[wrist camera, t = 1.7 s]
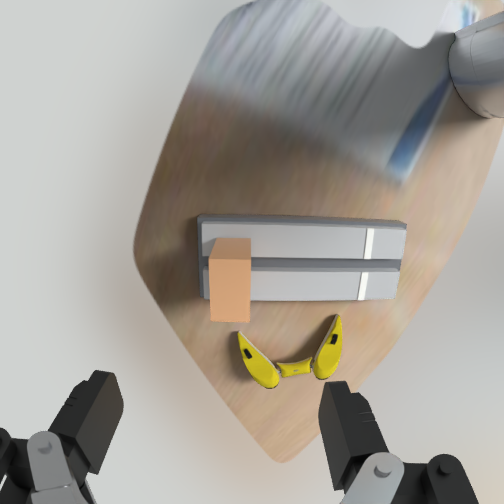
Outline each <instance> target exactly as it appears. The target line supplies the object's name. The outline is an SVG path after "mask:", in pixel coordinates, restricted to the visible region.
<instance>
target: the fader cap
mask: <svg viewBox="0 0 504 504" xmlns="http://www.w3.org/2000/svg"><path fill="white" fill-rule="evenodd" d="M209 287H210V313H211V321H217V322H250V291H251V238H217V239H216V241H215V244H214V246H213V249H212V252H211V254H210V257H209Z"/></svg>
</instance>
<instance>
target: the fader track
mask: <svg viewBox="0 0 504 504" xmlns="http://www.w3.org/2000/svg"><path fill="white" fill-rule="evenodd" d="M197 225H198V259H199V283H200V297H204V299H210V287H209V257H210V254H211V252H212V249H213V246H214V244H215V241H216V239H217V238H251V291H250V300H262V301H320V300H369V299H395V296H396V291H397V286H398V281H399V275H400V266H401V260H402V258H403V252H404V245H405V239H406V231H407V230H406V226H407V224H405V223H403V222H401V221H397V220H380V219H362V218H341V217H316V216H285V215H237V214H200V215H199V216H198V217H197Z"/></svg>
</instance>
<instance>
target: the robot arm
mask: <svg viewBox="0 0 504 504" xmlns="http://www.w3.org/2000/svg"><path fill="white" fill-rule="evenodd" d="M455 37H456V40H455V42H454V43H453V44H452V46H451V48H450V51H449V59H448V61H449V69H450V73H451V77H452V80H453V83H454V85H455V87H456V89H457V91H458V93H459V95H460V96H461V98H462V99H463V101H464V102H465V103H466V104H467V105H468V107H469V108H470V109H471V110H473V111H474V112H475V113H476V114H478V115H480V116H482V117H487V118H504V11H502V12H499V13H497V14H494V15H492V16H490V17H487V18H485V19H483V20H480V21H478V22H476V23H474V24H472V25H469V26H467V27H465V28H463V29H461V30H459V31H457V32H455ZM123 406H124V405H123V399H122V396H121V392H120V389H119V386H118V383H117V379H116V376H115V374H114V373H111V372H105V371H99V370H95V371H94V372H93V374H92V375H91V377H90V378H89V380H88V381H85V380H84V381H82V382H81V383H79V384H78V385H77V386H75V387H74V389H73V390H72V392H71V394H70V395H69V398H67V400H66V402H65V405H63V406H62V408H61V410H60V411H59V413H58V414H57V416H56V418H55V419H54V421H53V423H52V424H51V426H50V428H49V429H48V431H41V432H38V433H36V434H34V435H33V436H31V438H30V439H28V440H27V439H16V438H11V437H10V435H9V433H8V432H7V431H6V430H5V429H3V428H0V484H1V481H2V479H3V477H4V475H6V476H7V478H6V480H5V482H4V484H3V486H2V489H1V491H0V504H97V503H96V501H95V499H94V497H93V494H92V492H91V489H90V487H89V485H88V482H87V480H86V475H87V473H88V472H90V473H93V474H98V473H99V471H100V468H101V465H102V463H103V460H104V458H105V455H106V453H107V450H108V448H109V445H110V443H111V440H112V438H113V435H114V433H115V430H116V428H117V426H118V423H119V421H120V418H121V416H122V413H123ZM318 418H319V426H320V430H321V434H322V438H323V443H324V447H325V452H326V456H327V460H328V464H329V469H330V474H331V478H332V483H333V487H334V491H336V490H342V489H343V490H344V494H345V496H344V498H343V499H342V501H341V502H340V504H479V503H478V500H477V498H476V495H475V493H474V491H473V488H472V486H471V484H470V482H469V479H468V477H467V475H466V473H465V470H464V469H463V466H462V464H461V462H460V461H459V460H458V459H457V458H456V457H454V456H452V455H448V454H440V455H437V456H435V457H433V459H431V460H430V462H429V463H428V464H424V463H420V464H419V463H404V462H402V461H401V460H400V459H399V458H398V457H397V456H395V455H393V454H391V453H389V451H388V448H387V446H386V444H385V441H384V439H383V436H382V434H381V431H380V429H379V427H378V424H377V422H376V421H375V417H374V415H373V413H372V410H371V408H370V405H369V403H368V401H367V400H366V399H365V398H364V397H363V396H362V395H361V394H360V393H359V392H358V393H351V392H350V390H349V387H348V384H347V382H346V381H334V382H326V383H325V385H324V389H323V393H322V398H321V402H320V407H319V414H318Z"/></svg>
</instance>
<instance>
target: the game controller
mask: <svg viewBox="0 0 504 504" xmlns="http://www.w3.org/2000/svg"><path fill="white" fill-rule="evenodd" d="M238 342H239V346H240V350H241V354H242V357H243V360H244V362H245V365H246V367H247V369H248V371H249V372H250V374H251V376H252V377H253V379H254V380H255V381H256V382H257V383H258V384H260V385H261V386H263V387H265V388H267V389H272V388H275V387H276V386H277V385H278V383H279V373H281V376H282V377H288V376H293V375H298V374H306V373H310V372H311V369H310V368H312V369H313V372H314V374H315V376H316V378H318V379H320V380H324V379H327V378H329V377H330V375H331V374H333V372H334V371H335V369H336V367H337V365H338V363H339V360H340V355H341V350H342V325H341V319H340V316H339V315H338V314H336V316H335V318H334V320H333V322H332V324H331V326H330V328H329V330H328V332H327V334H326V336H325V338H324V340H323V341H322V343H321V345H320V347H319V349H318V351H317V353H316V355H315V358H314V360H313V364H312V365H310V361H311V359H312V357H309V358H307V359H305V360H302V361H299V362H294V363H278V362H277V365H278V366H279V367H280V369H281V370H277V369H276V367H275V366H274V364H273V363H272V362H271V361H270V360H269V359H268V358H267V357H266V356H265V355H264V354H263V353H262V352H261V351H260V350H259V349H258V348H257V347H255V346H254V345H253V344H252V343H251V342H250V341H249V340H248V339H247V338H246V337H245V335H244V334H243V333H242V332H240V331H239V332H238Z"/></svg>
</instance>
